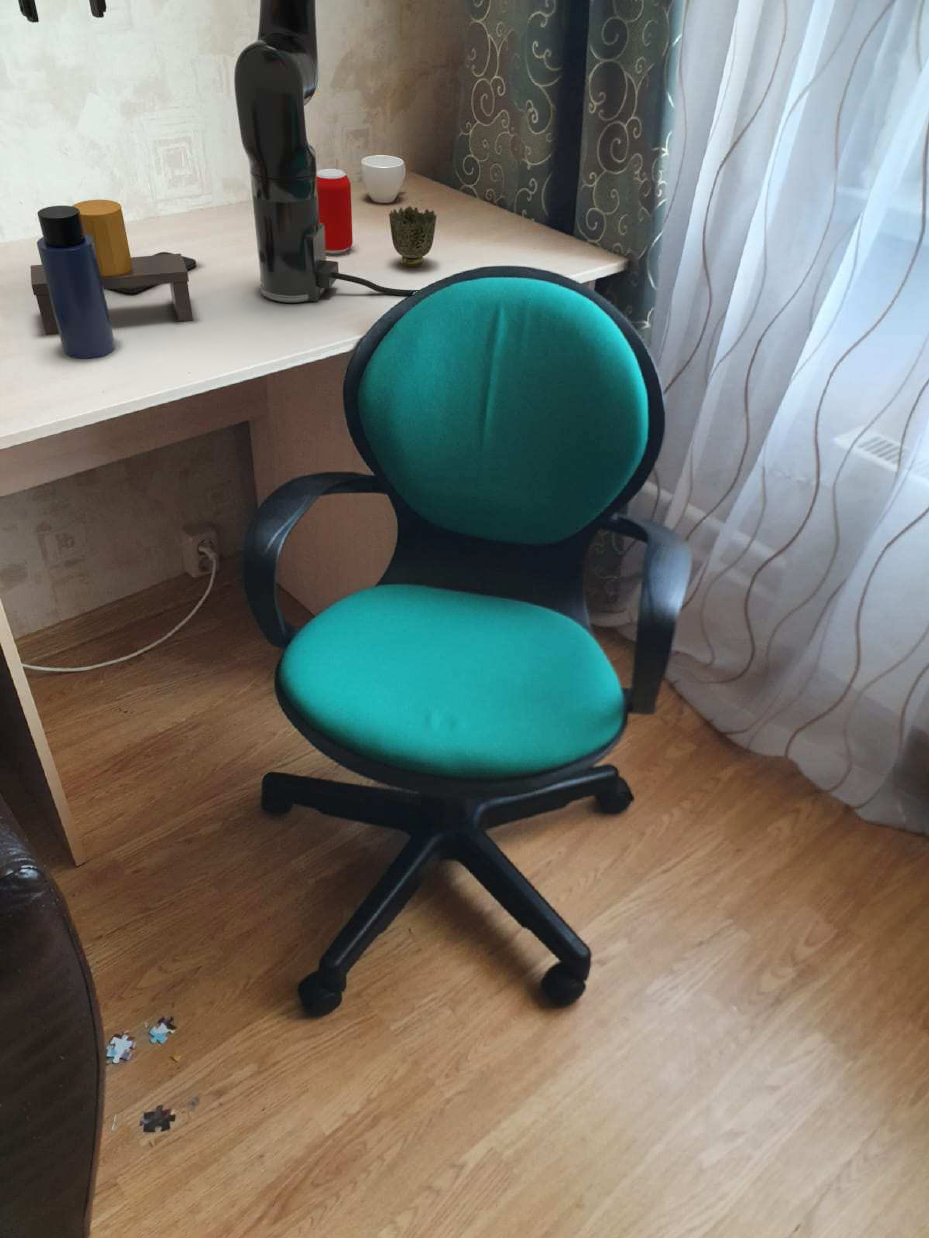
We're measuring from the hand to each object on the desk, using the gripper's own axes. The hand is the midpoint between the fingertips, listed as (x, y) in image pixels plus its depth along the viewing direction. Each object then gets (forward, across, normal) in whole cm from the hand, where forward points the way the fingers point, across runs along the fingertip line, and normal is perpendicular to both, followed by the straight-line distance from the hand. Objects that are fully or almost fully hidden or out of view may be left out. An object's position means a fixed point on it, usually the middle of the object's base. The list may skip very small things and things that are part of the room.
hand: (66, 19), depth 121 cm
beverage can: (+34, +35, -6) cm, 49 cm away
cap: (+27, -6, -12) cm, 30 cm away
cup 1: (+34, +59, +10) cm, 69 cm away
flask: (+34, -13, -18) cm, 41 cm away
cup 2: (+34, +41, -19) cm, 57 cm away
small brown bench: (+34, -6, -12) cm, 36 cm away
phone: (+34, +5, 0) cm, 34 cm away
